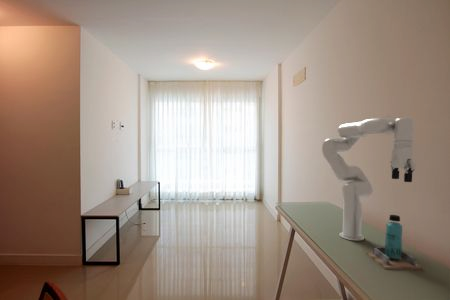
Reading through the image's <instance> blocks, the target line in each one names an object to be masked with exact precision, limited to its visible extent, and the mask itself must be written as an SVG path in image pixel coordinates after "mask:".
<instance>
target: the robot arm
mask: <svg viewBox="0 0 450 300" xmlns="http://www.w3.org/2000/svg"><path fill="white" fill-rule="evenodd" d="M414 122H415V121H414V118H412V117H399V118H386V117H375V118H367V119H363V120H361V121H355V122H347V123H343V124H341V125H339V127H338V128H337V134H338V136H340V137H329V138H326V139H325V140H324V141H323V142H322V146H321V153H322V155H323V157H324V158H325V160H326V161H327V163H328V164H329V166H330V168H331V170H332V171H333V172H334V173H333V174H334V175H335V176H336V178H337V180H339V181H340V182H343V185H342V188H341V194H342V199H343V201H342V205H343V207H342V209H343V210H342V231H341V232H339V237H340V238H343V239H344V240H349V241H358V242H359V241H363V240H364V239H365V236H364V235H362V221H363V220H362V219H363V218H362V215H363V213H362V212H363V206H362V202H361V200H360V199H362V198H369V197H370V196H372V194H373V191H374V190H373V187H372V184H371V182H370V181H369V179H368V178H367V177H368V176H366V174H365V173H364V171H363V170H362V169H361V168H360V167H359V166H357V165H353V164H352V165H348V164H347V162H346V161H345V159H344V158H343V156H341V154H339V153H345V152H348V151H350V150H351V149H352V148H353V146H355V144H356V143H357V142H358V141H359V139H360V138H363V137H366V136H368V135H373V134H376V135H377V134H385V135H386V134H387V135H389V134H390V135H393V148H392V152H391V159H390V167H391V179H392V180H399V179H400V169H403V170H404V172H405V173H404V175H403V182H404V183H412V182H413V174H414V171H415V168H416V164H415V162H414V151H413V147H414V146H413V145H414V143H413V142H414V127H415V123H414Z"/></svg>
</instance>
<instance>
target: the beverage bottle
mask: <svg viewBox="0 0 450 300" xmlns="http://www.w3.org/2000/svg"><path fill="white" fill-rule="evenodd" d="M388 220H390V221H389V222H387V223H386V225H385V226H386V229H385V240H384V242H385V244H384V247H385V255H386V256H388V257H390V258H396V259H399V258H401V254H402V250H403V249H402V246H403V245H402V244H403V225H402V224H401V223H399V222H401V217H400V216H399V215H397V214H390V215H389V219H388Z"/></svg>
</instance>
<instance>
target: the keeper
mask: <svg viewBox="0 0 450 300" xmlns="http://www.w3.org/2000/svg"><path fill="white" fill-rule="evenodd" d="M365 253H366V255H367V256H369V257H370V259H372V260H373V261H374V262H376V263H377V264H378V265H380V266H381V267H382V268H383V269H384V270H401V271H403V270H407V271H424V267H423V266H421V265H420V264H418V263H417V261H416V260H417V258H415V257H414V256H412V255H411V254H409V253H407V252H406V251H404V250H403V249H402V254H401V258H399V259H396V258H390V257H388V256H386V255H385V246H384V247H381V246H377V247H375V246H373V247H372V251H366V252H365Z"/></svg>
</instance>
